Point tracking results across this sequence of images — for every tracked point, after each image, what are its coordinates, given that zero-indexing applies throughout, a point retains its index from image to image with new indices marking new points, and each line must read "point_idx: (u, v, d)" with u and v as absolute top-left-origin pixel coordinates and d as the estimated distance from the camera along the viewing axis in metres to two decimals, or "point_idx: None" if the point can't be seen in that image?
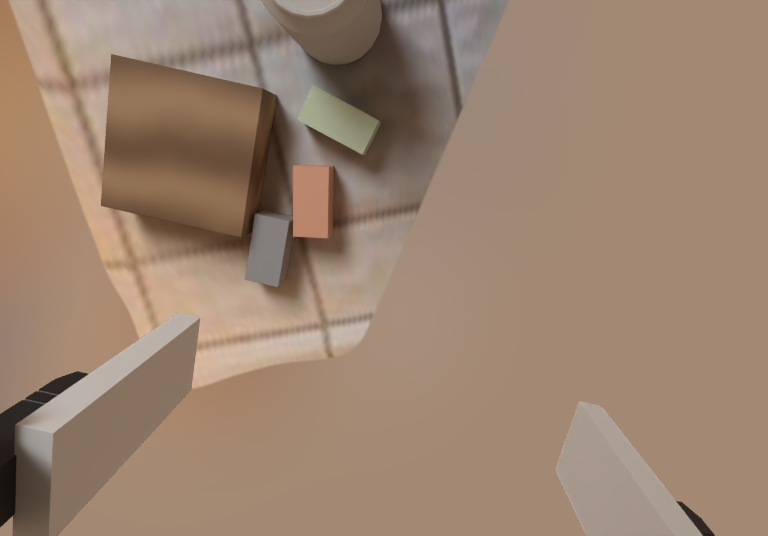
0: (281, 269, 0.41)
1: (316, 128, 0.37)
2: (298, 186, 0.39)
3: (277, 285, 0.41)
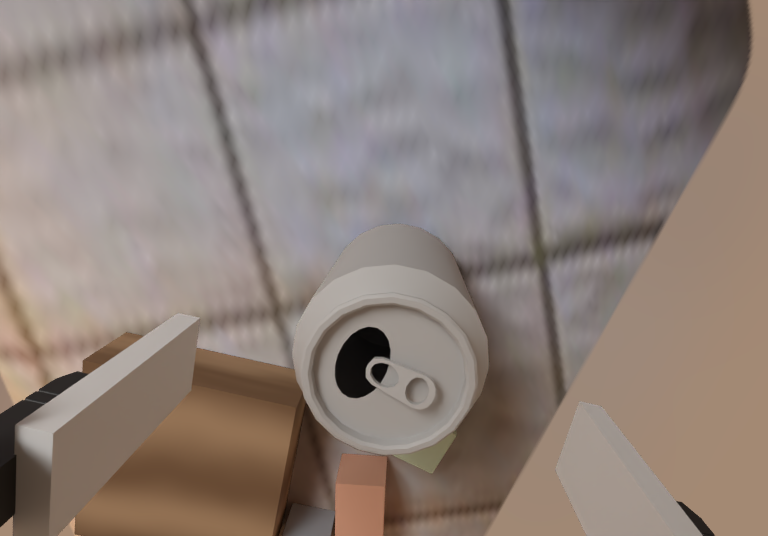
0: None
1: None
2: (342, 507, 0.28)
3: None
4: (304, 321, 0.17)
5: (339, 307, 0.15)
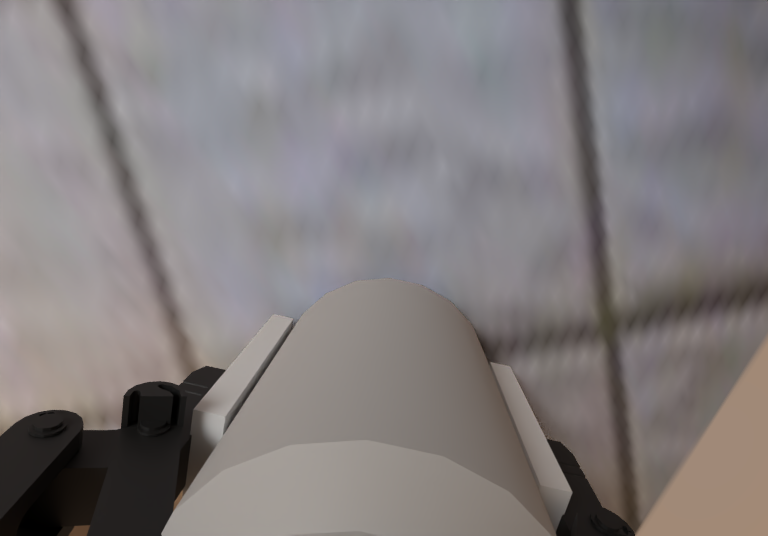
0: None
1: None
2: None
3: None
4: None
5: None
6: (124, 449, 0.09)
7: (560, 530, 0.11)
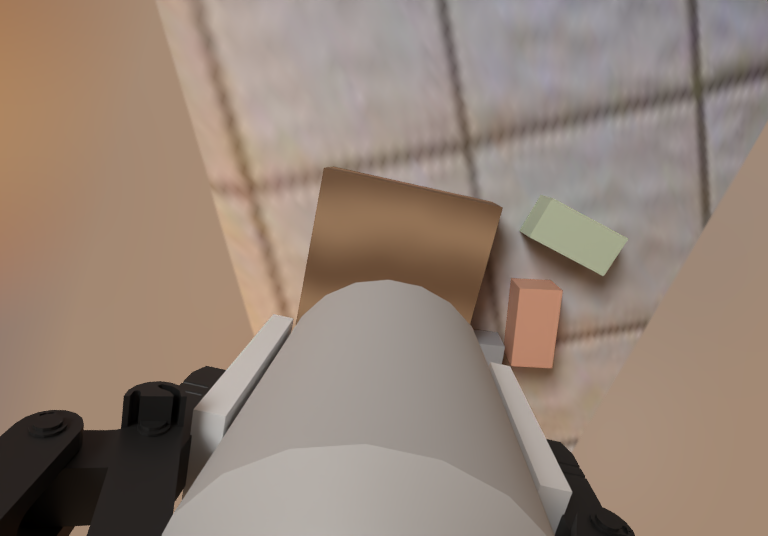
0: None
1: (551, 247, 0.32)
2: (523, 311, 0.33)
3: None
4: None
5: None
6: (125, 449, 0.09)
7: (560, 530, 0.11)
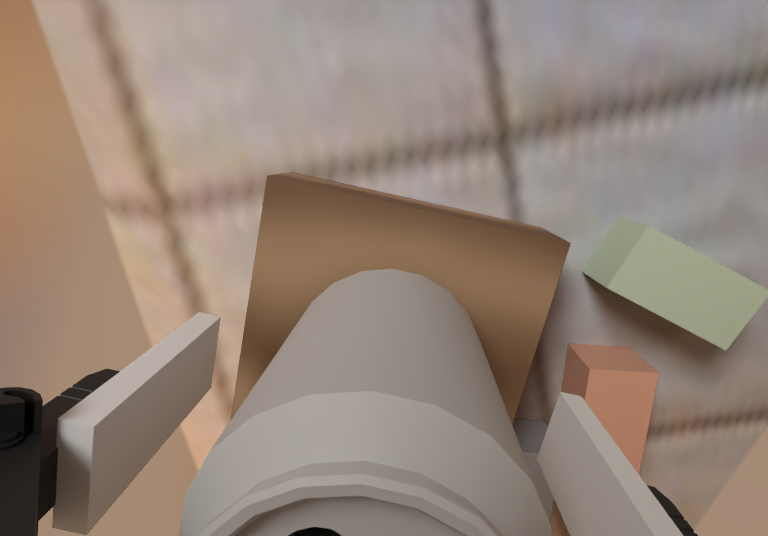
0: None
1: (643, 304, 0.19)
2: (594, 404, 0.21)
3: None
4: (195, 494, 0.09)
5: (248, 500, 0.07)
6: None
7: None
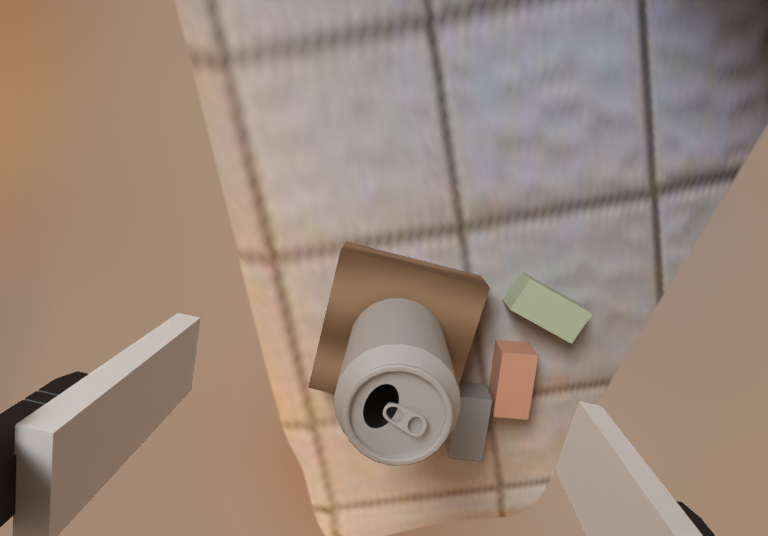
0: None
1: (528, 318, 0.38)
2: (505, 371, 0.39)
3: (481, 460, 0.41)
4: (343, 377, 0.27)
5: (369, 372, 0.25)
6: None
7: None
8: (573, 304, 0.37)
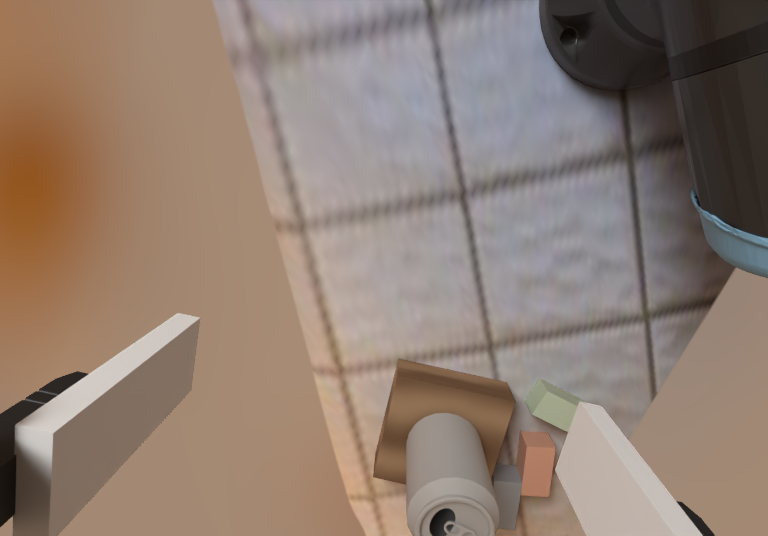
0: None
1: (547, 420, 0.47)
2: (529, 461, 0.49)
3: (514, 528, 0.51)
4: (414, 501, 0.37)
5: (434, 502, 0.35)
6: None
7: None
8: None
